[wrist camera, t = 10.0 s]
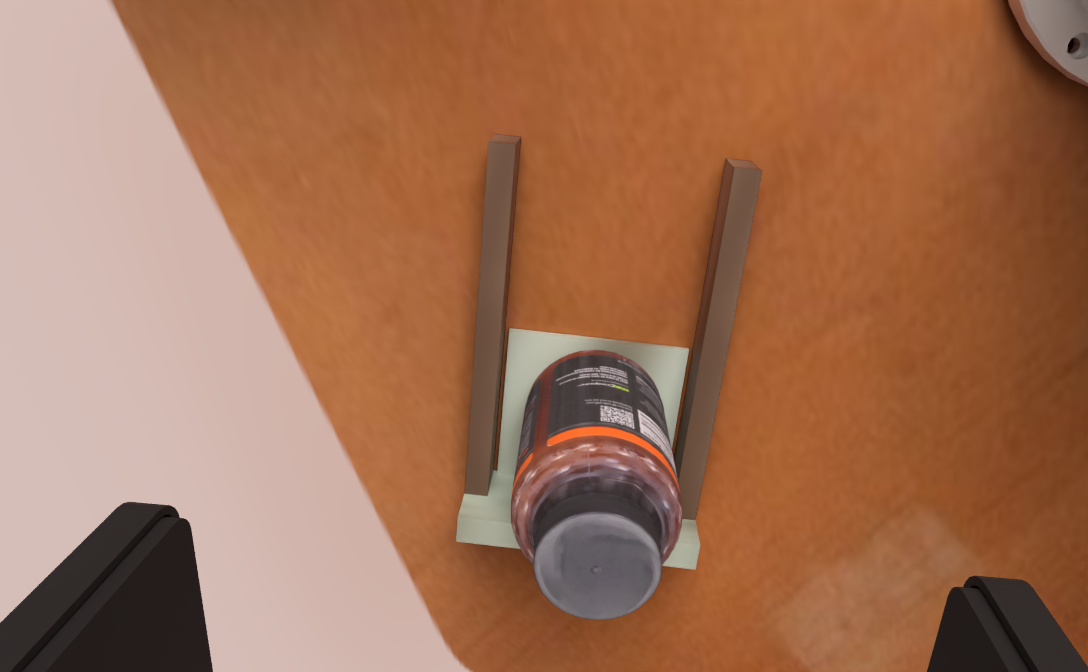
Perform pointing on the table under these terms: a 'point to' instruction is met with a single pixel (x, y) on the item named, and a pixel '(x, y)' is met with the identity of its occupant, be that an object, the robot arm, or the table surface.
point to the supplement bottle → (596, 485)
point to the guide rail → (535, 350)
